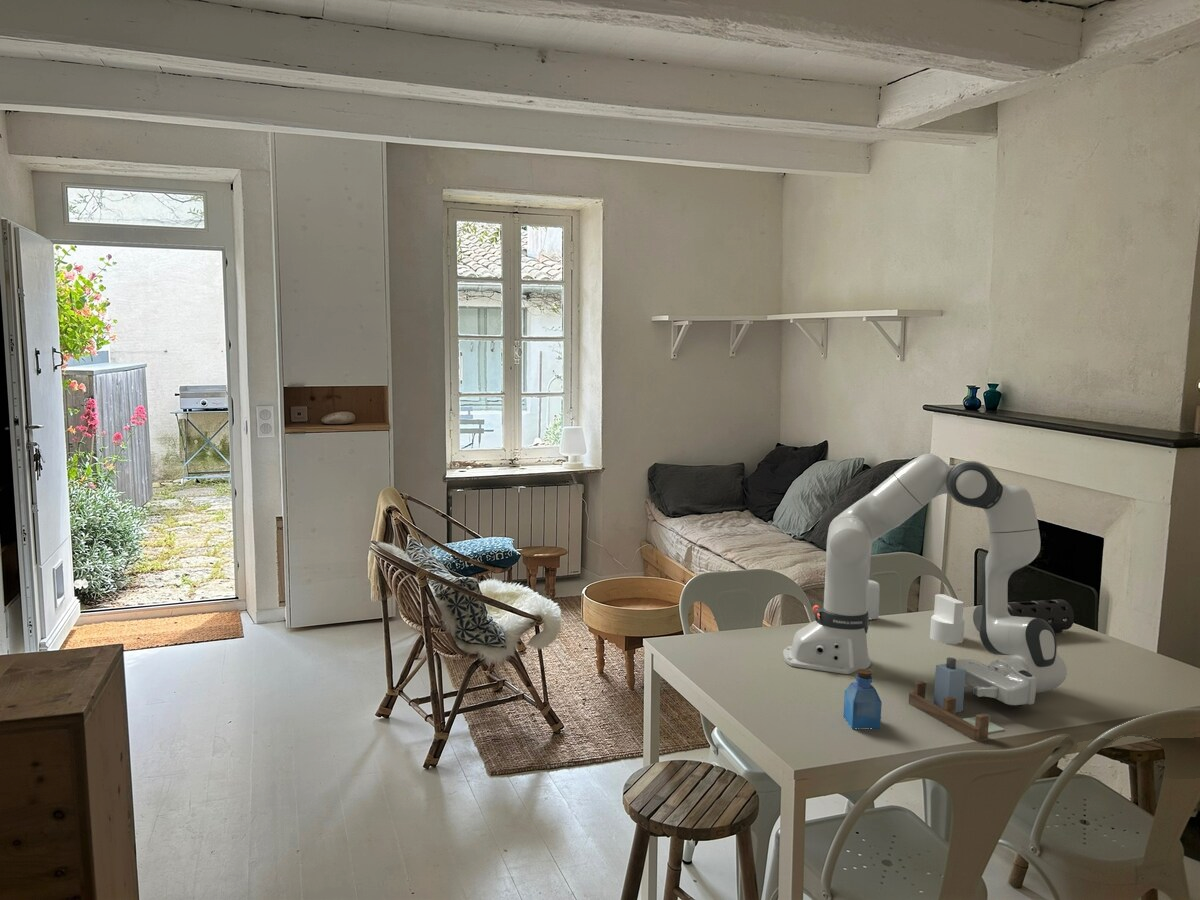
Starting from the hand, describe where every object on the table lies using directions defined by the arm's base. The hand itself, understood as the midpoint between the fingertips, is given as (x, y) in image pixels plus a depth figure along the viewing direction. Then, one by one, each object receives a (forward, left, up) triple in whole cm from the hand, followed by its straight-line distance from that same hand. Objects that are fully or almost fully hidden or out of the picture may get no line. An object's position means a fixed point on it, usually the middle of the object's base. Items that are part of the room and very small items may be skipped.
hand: (960, 684), depth 206 cm
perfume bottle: (-24, -14, -6) cm, 28 cm away
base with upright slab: (+8, +51, -6) cm, 52 cm away
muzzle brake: (+31, +60, -6) cm, 68 cm away
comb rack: (-2, -7, -5) cm, 9 cm away
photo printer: (-14, +65, -6) cm, 67 cm away
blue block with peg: (-3, -2, -6) cm, 6 cm away
